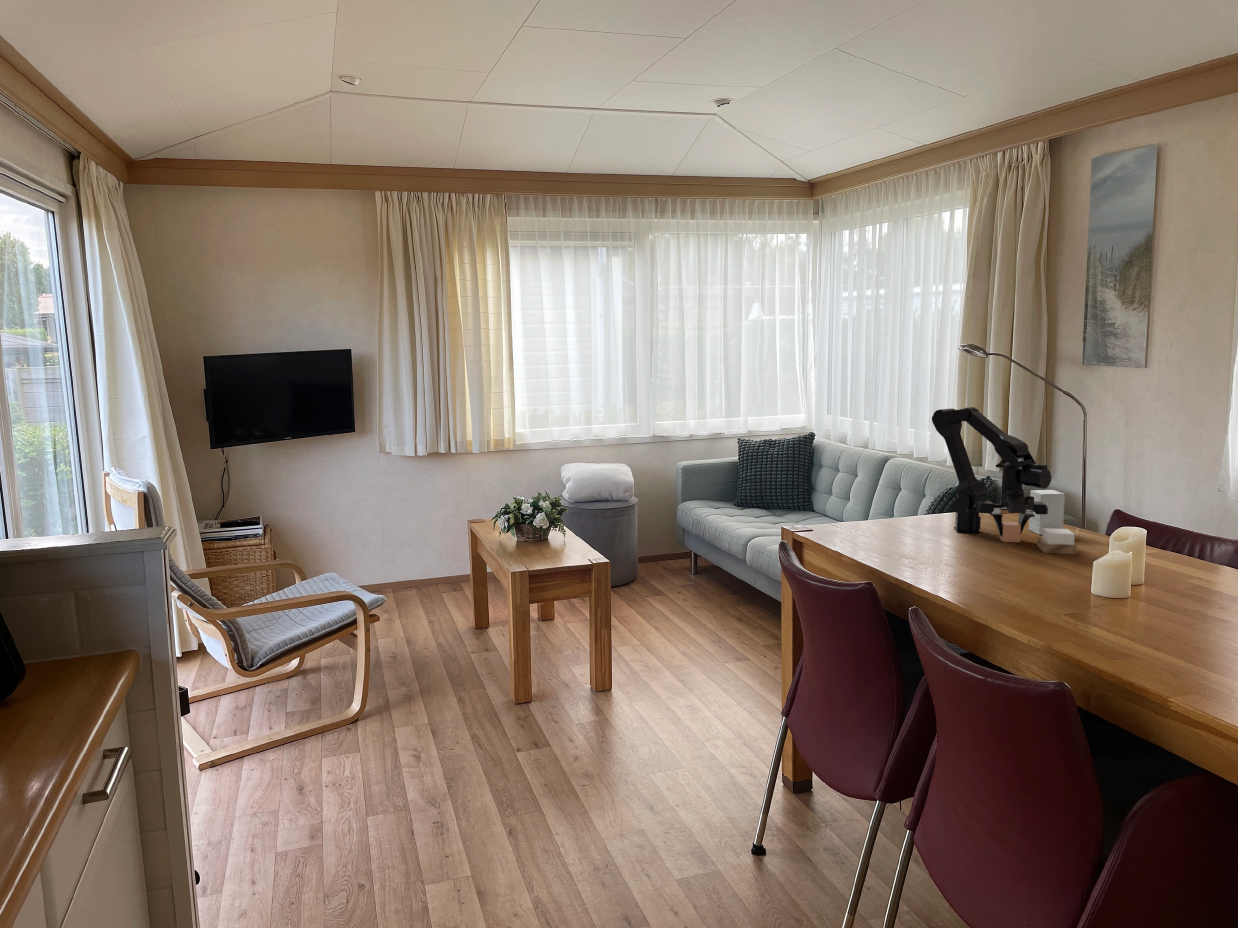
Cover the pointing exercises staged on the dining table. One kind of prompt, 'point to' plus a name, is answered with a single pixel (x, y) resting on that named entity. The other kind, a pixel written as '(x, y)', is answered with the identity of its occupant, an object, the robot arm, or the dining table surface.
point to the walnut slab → (1056, 547)
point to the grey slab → (1058, 536)
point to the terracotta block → (1010, 532)
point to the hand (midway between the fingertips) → (1009, 536)
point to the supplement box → (1054, 511)
